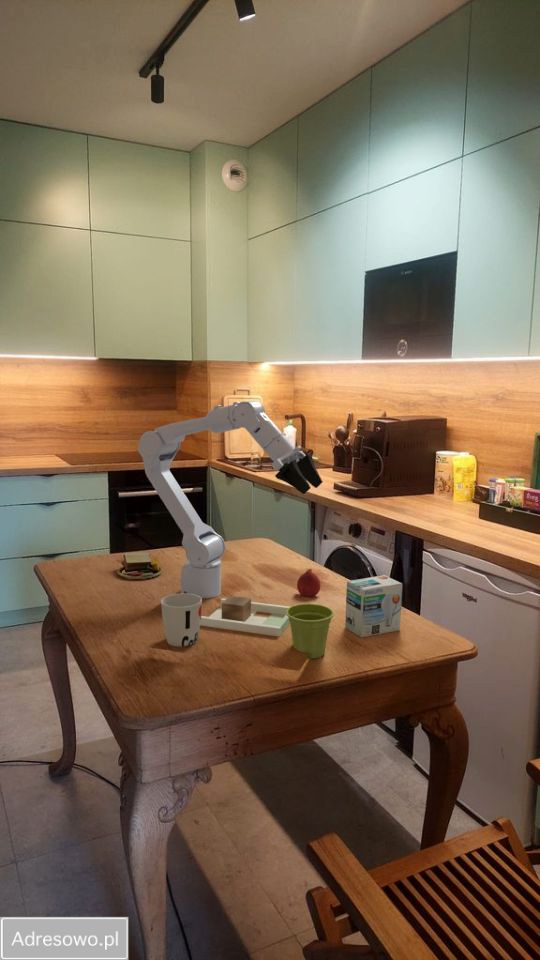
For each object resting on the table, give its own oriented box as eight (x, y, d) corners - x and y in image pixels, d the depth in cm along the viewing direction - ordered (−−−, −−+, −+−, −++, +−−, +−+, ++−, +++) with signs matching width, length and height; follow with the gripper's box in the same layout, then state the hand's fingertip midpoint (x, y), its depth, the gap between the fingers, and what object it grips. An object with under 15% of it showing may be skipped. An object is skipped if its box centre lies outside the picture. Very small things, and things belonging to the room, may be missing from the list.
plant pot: (298, 666, 122) (299, 623, 121) (277, 647, 131) (278, 606, 129) (341, 658, 126) (342, 616, 124) (318, 640, 134) (319, 601, 133)
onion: (318, 604, 155) (319, 573, 154) (295, 602, 156) (295, 571, 155) (321, 596, 161) (322, 566, 160) (298, 595, 162) (299, 564, 161)
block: (221, 620, 141) (221, 603, 140) (230, 612, 145) (230, 595, 145) (243, 623, 139) (243, 605, 138) (250, 615, 144) (250, 598, 143)
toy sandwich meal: (116, 582, 171) (115, 565, 170) (118, 567, 184) (118, 551, 183) (163, 580, 173) (163, 563, 173) (162, 565, 187) (162, 550, 186)
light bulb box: (361, 638, 136) (363, 589, 134) (343, 627, 142) (345, 580, 140) (401, 630, 141) (403, 582, 139) (382, 619, 146) (384, 574, 145)
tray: (199, 631, 138) (199, 617, 138) (222, 611, 150) (222, 598, 150) (279, 643, 133) (279, 628, 132) (296, 621, 145) (296, 607, 144)
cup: (184, 659, 125) (184, 610, 123) (153, 649, 129) (152, 601, 127) (210, 644, 131) (210, 598, 130) (179, 636, 136) (179, 590, 134)
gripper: (272, 434, 137) (313, 482, 135) (298, 428, 150) (336, 471, 148) (251, 456, 140) (291, 503, 138) (278, 448, 153) (315, 490, 151)
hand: (313, 488), depth 143 cm, fingers open, 7 cm apart
